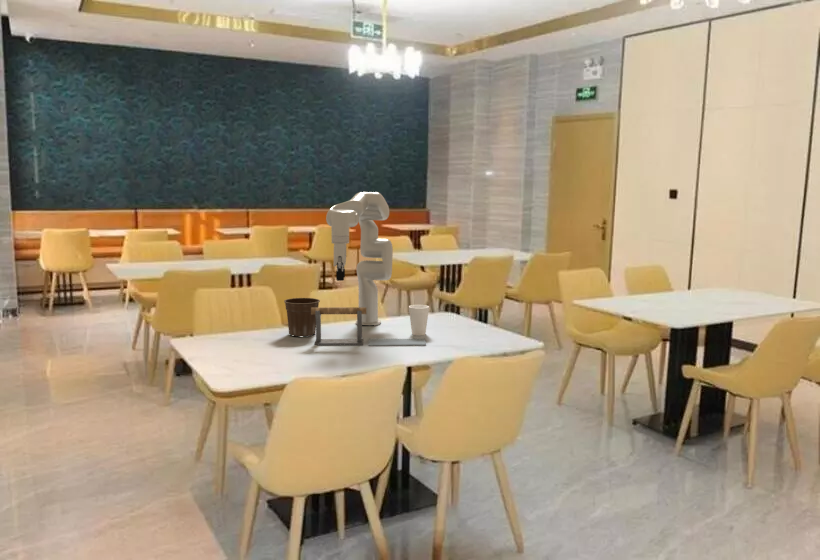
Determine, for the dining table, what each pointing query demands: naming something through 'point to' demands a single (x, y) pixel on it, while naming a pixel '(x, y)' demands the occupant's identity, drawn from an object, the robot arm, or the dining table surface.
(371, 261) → the robot arm
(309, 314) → the plant pot
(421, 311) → the foam cup
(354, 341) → the cradle stands
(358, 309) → the oak dowel
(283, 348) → the dining table surface
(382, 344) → the slate mat
